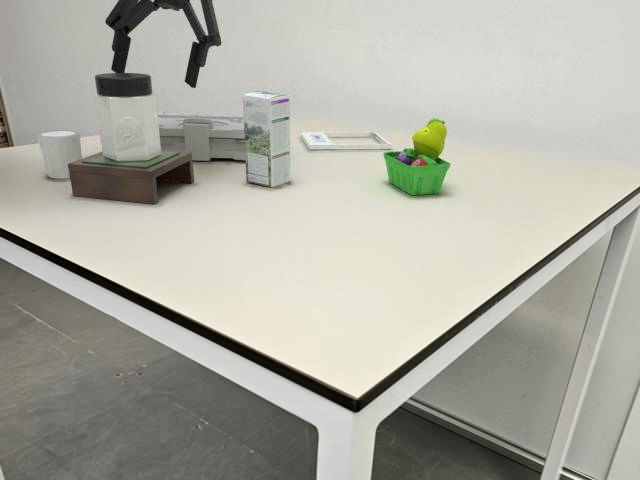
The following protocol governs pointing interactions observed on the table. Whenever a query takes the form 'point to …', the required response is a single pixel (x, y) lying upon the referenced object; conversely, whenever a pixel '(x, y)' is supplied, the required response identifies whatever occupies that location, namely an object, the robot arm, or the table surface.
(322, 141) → the photo frame
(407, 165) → the fruit basket
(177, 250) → the table surface
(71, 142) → the white cup
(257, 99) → the syrup box
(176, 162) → the shelf
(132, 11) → the robot arm
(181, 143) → the grey plastic tool case
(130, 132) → the jar
